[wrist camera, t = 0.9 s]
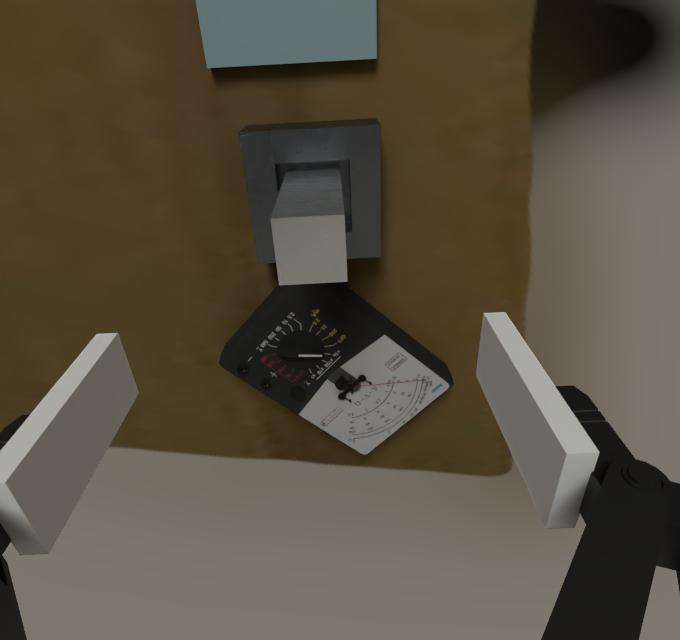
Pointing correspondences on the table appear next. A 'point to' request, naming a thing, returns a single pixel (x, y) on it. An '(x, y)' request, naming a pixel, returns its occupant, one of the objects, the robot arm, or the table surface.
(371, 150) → the socket block
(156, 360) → the table surface
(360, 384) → the multimeter
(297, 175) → the long steel block
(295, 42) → the slate mat
